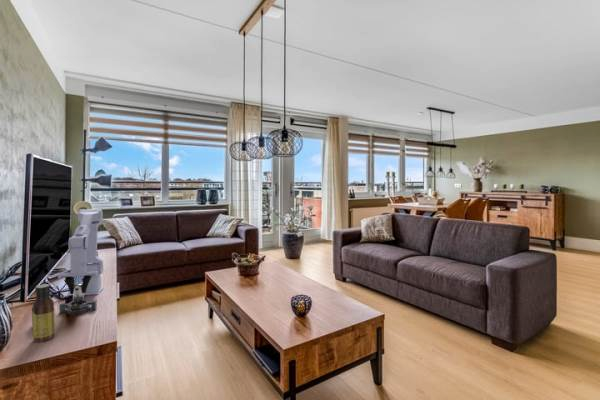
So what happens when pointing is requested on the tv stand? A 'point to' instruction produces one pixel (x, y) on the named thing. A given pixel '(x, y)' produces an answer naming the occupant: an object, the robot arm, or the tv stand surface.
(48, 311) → the sauce bottle
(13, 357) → the tv stand surface
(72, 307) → the collar stand
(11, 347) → the tv stand surface
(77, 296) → the air tube
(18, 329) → the tv stand surface
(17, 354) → the tv stand surface
